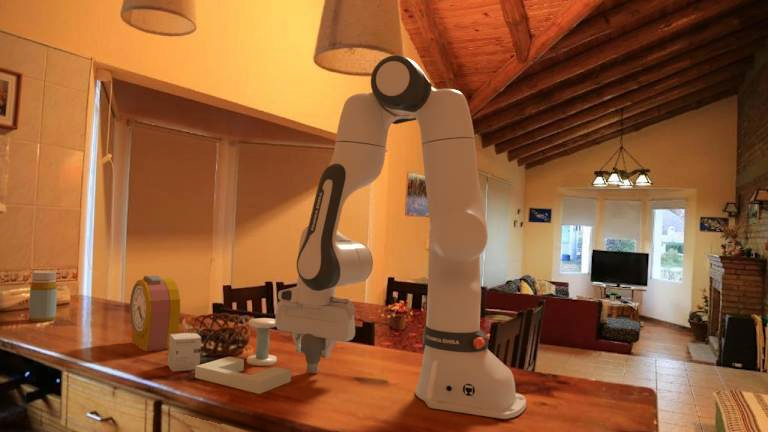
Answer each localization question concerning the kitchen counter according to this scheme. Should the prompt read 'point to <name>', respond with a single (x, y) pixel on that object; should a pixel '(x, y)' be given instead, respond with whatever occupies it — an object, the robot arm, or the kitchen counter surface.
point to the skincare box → (184, 351)
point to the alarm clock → (154, 312)
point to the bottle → (43, 296)
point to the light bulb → (312, 351)
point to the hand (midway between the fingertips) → (313, 355)
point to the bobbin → (262, 342)
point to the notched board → (242, 375)
